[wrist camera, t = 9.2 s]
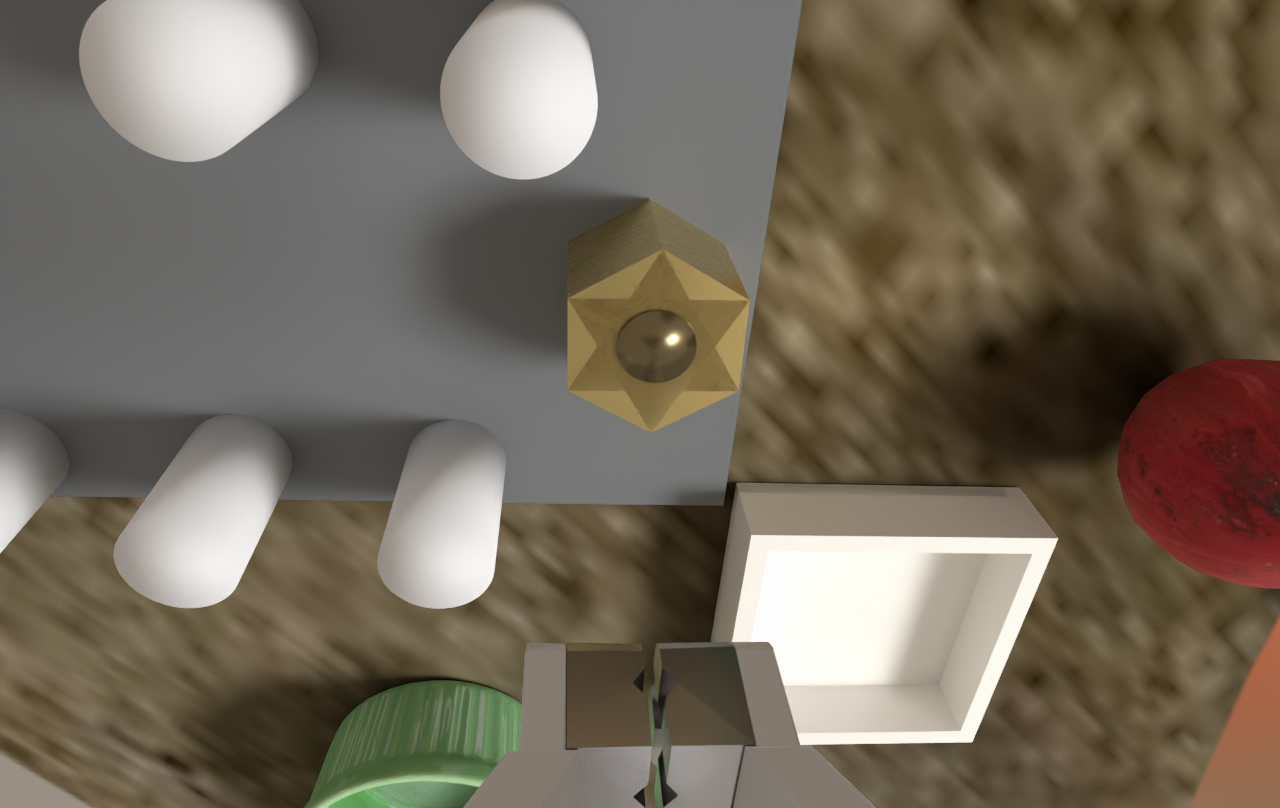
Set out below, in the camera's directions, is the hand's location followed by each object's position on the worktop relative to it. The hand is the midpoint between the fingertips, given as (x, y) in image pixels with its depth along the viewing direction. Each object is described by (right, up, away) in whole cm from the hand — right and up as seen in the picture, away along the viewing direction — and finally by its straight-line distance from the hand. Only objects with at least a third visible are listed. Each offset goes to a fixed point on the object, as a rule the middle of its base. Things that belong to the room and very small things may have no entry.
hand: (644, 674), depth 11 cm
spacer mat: (-9, +8, +9) cm, 16 cm away
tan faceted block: (0, +7, +11) cm, 13 cm away
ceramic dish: (+7, -3, +18) cm, 19 cm away
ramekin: (-7, -9, +21) cm, 24 cm away
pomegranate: (+16, +4, +15) cm, 22 cm away
